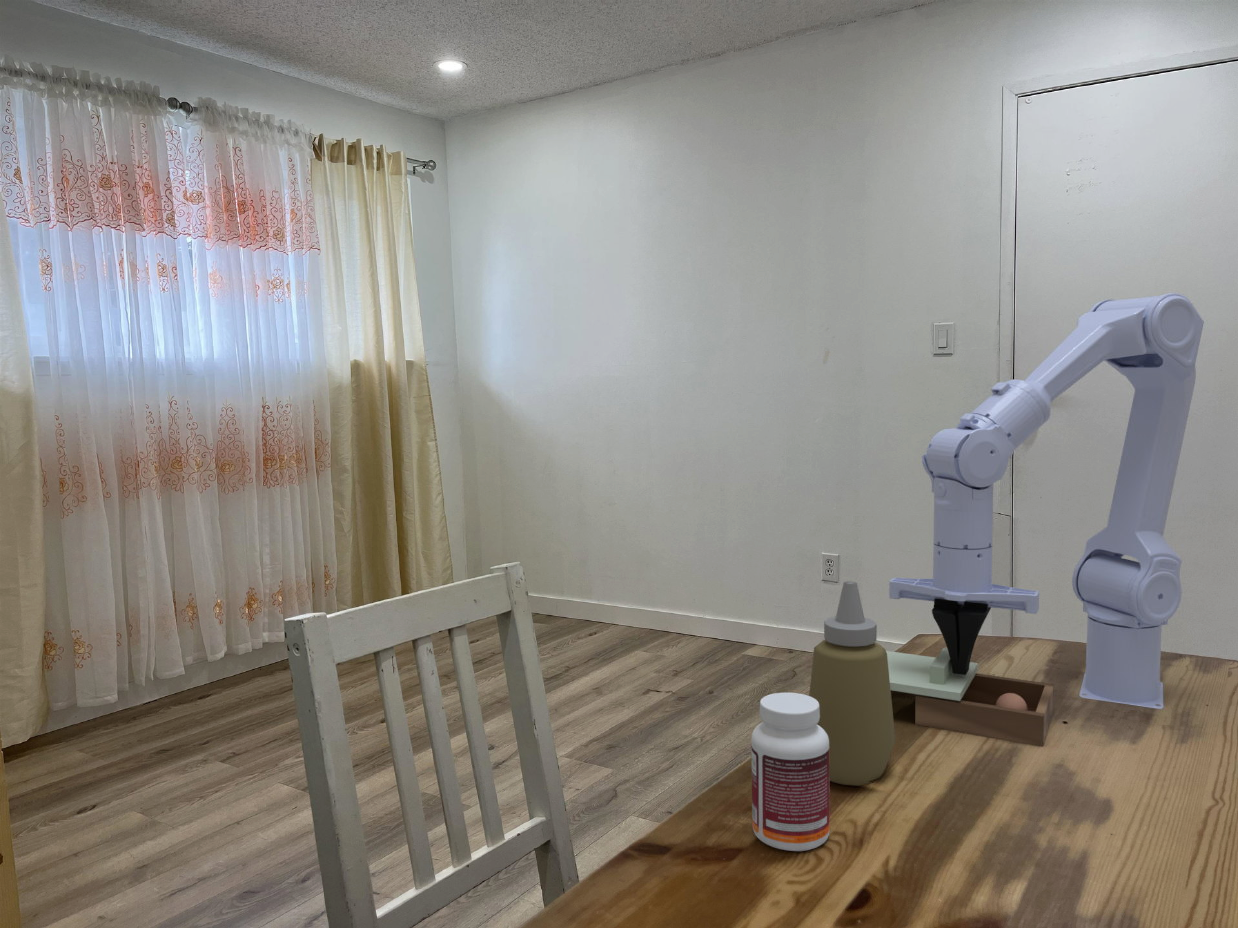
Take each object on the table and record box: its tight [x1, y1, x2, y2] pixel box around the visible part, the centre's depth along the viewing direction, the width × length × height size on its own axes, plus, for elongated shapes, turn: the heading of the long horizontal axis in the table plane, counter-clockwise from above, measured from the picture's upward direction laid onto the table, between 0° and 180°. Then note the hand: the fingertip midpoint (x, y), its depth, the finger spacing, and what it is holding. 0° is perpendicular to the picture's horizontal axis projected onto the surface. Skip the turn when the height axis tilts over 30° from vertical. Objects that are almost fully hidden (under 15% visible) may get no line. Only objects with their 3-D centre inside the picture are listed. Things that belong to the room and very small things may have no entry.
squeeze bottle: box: [808, 581, 896, 786], centre depth 83 cm, size 8×8×18 cm
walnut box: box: [914, 672, 1055, 747], centre depth 95 cm, size 10×12×4 cm
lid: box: [886, 647, 979, 701], centre depth 98 cm, size 10×12×3 cm
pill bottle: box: [750, 692, 831, 852], centre depth 73 cm, size 6×6×11 cm
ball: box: [996, 693, 1027, 711], centre depth 93 cm, size 3×3×3 cm
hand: (960, 671), depth 96 cm, fingers closed
